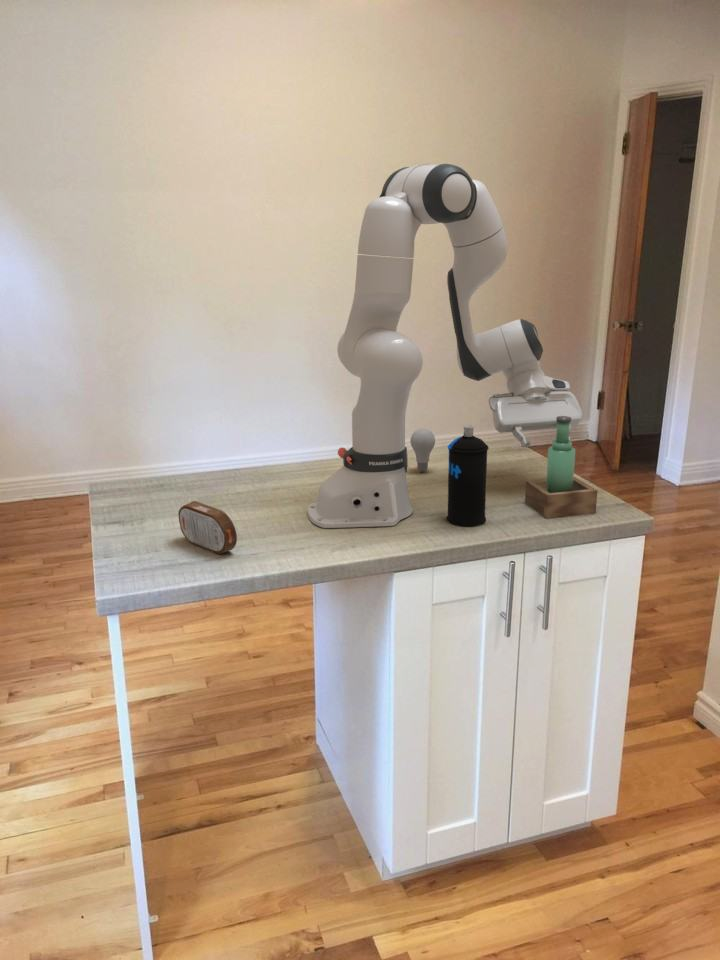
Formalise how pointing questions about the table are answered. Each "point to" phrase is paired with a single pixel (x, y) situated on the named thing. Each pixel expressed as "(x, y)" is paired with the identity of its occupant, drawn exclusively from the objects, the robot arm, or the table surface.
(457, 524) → the aerosol can
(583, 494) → the u rest
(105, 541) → the table surface
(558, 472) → the bottle
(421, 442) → the lightbulb
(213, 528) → the tin
